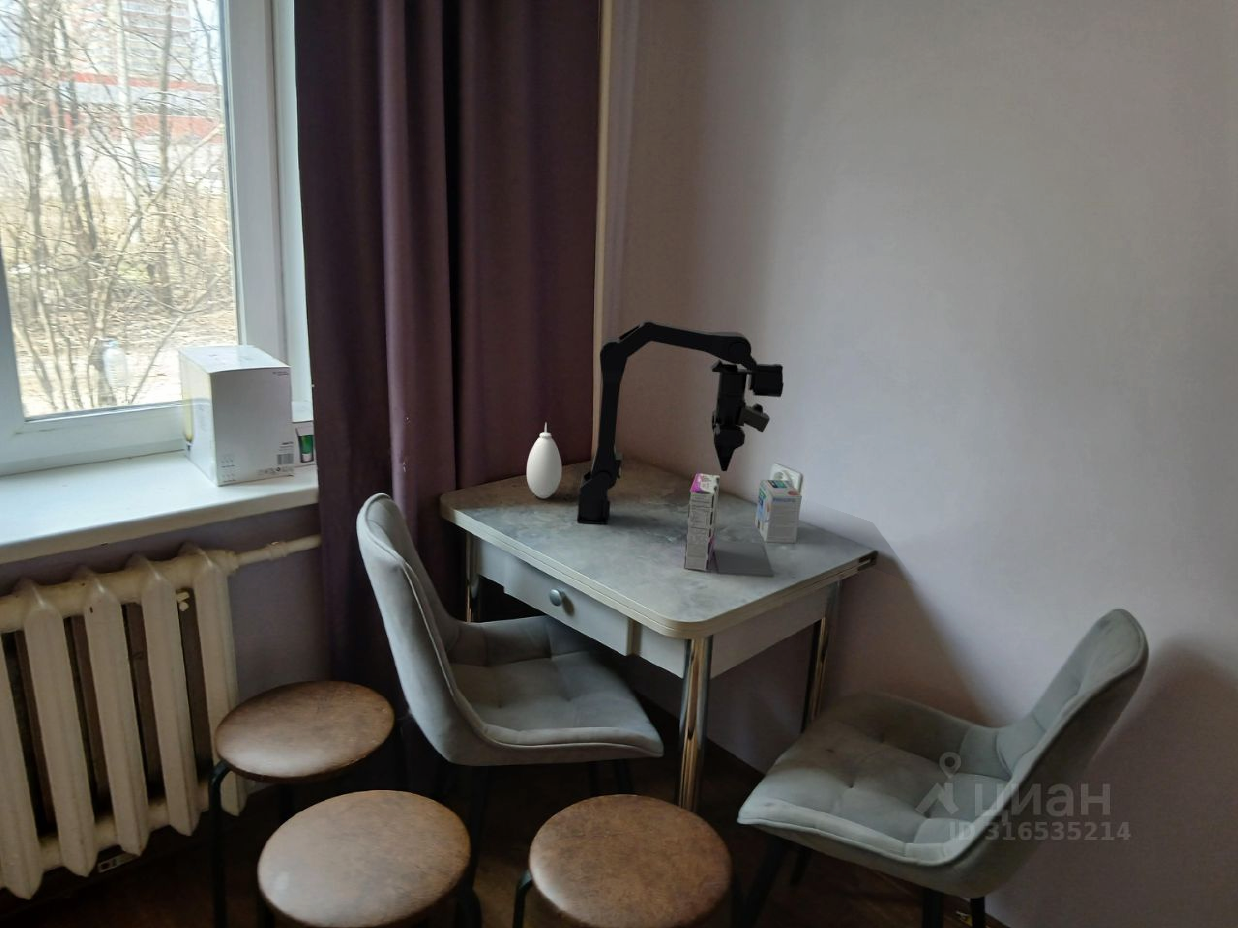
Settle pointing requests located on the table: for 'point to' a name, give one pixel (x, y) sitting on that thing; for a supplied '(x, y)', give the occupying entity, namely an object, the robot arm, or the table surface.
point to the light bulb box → (778, 511)
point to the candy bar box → (701, 522)
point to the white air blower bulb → (544, 466)
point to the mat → (741, 558)
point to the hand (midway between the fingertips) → (723, 464)
